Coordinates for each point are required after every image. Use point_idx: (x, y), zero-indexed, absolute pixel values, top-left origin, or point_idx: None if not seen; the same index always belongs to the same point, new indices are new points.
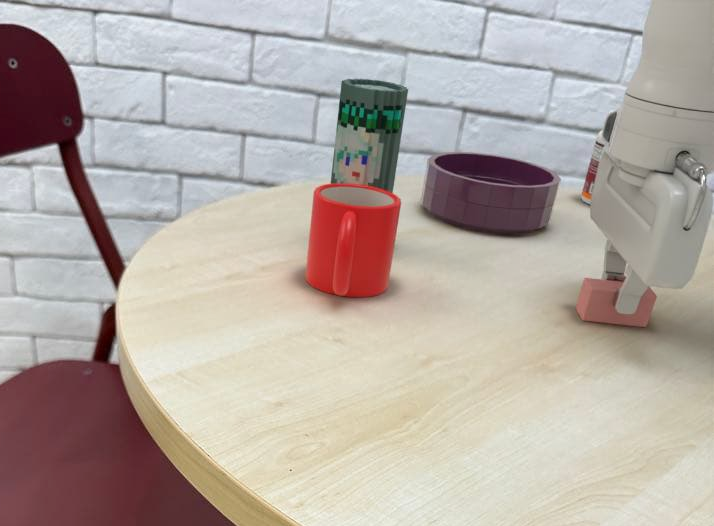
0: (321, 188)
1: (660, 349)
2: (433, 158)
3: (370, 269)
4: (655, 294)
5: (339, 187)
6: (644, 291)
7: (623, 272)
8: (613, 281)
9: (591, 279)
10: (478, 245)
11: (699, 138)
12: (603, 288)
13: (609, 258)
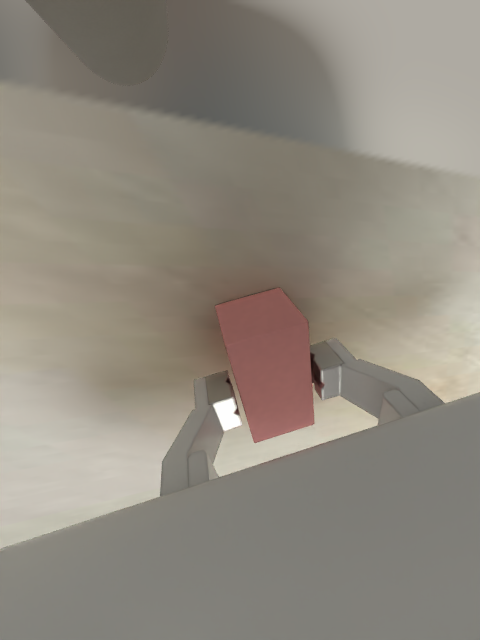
0: None
1: (378, 261)
2: None
3: None
4: (298, 325)
5: None
6: (376, 366)
7: (212, 408)
8: (249, 405)
9: (258, 434)
10: (25, 536)
11: None
12: (304, 412)
13: (211, 460)
